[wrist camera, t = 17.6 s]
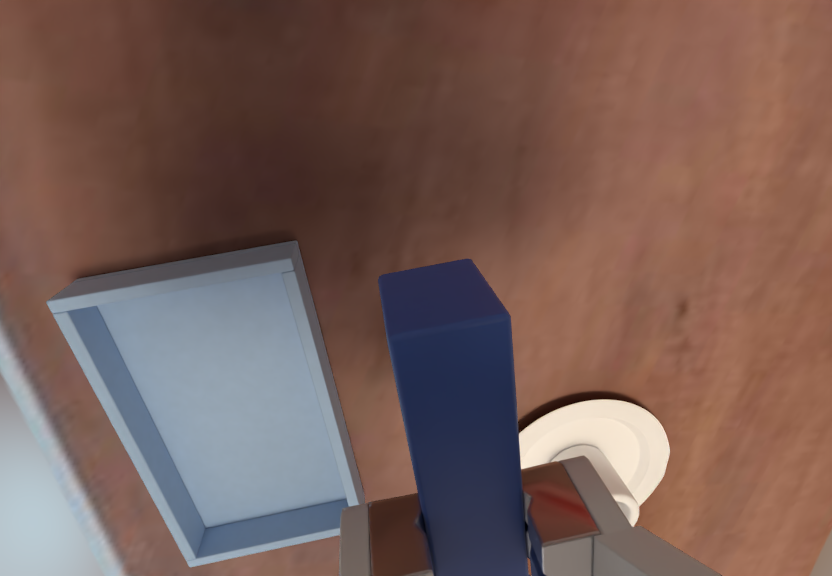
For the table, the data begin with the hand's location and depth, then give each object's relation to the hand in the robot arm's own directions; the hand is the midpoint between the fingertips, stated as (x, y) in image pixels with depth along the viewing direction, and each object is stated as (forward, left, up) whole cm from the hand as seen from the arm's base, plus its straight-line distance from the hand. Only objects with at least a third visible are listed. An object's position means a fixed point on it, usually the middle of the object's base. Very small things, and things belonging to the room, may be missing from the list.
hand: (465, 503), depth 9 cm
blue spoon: (+2, 0, -2) cm, 3 cm away
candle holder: (+17, +9, -15) cm, 25 cm away
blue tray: (+7, -10, -15) cm, 19 cm away
